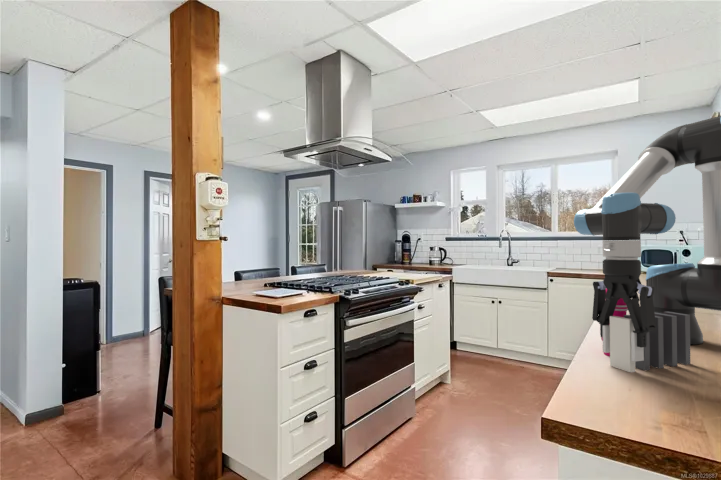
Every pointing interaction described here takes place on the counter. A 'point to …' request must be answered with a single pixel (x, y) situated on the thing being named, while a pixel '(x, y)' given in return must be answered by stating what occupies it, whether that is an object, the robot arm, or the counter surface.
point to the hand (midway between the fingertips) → (622, 355)
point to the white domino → (621, 343)
